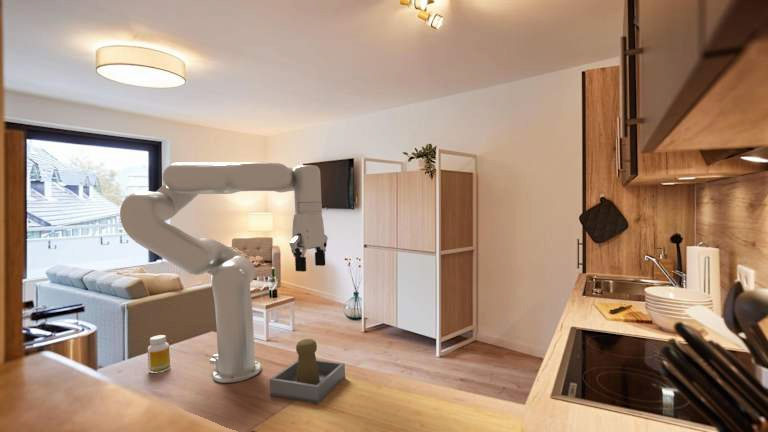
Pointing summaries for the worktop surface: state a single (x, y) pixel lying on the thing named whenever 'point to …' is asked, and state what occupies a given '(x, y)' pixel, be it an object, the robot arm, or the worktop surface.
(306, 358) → the cork
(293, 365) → the box
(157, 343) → the supplement bottle
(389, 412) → the worktop surface
